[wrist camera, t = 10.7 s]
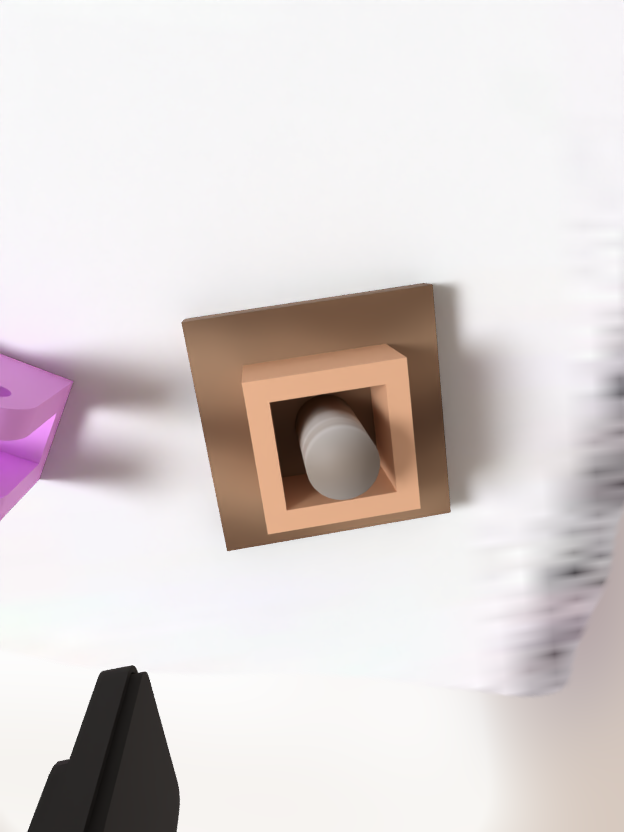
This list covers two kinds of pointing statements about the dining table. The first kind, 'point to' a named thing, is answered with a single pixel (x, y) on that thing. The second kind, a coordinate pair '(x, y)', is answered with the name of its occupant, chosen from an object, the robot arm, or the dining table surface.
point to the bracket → (26, 425)
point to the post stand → (316, 404)
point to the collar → (397, 479)
